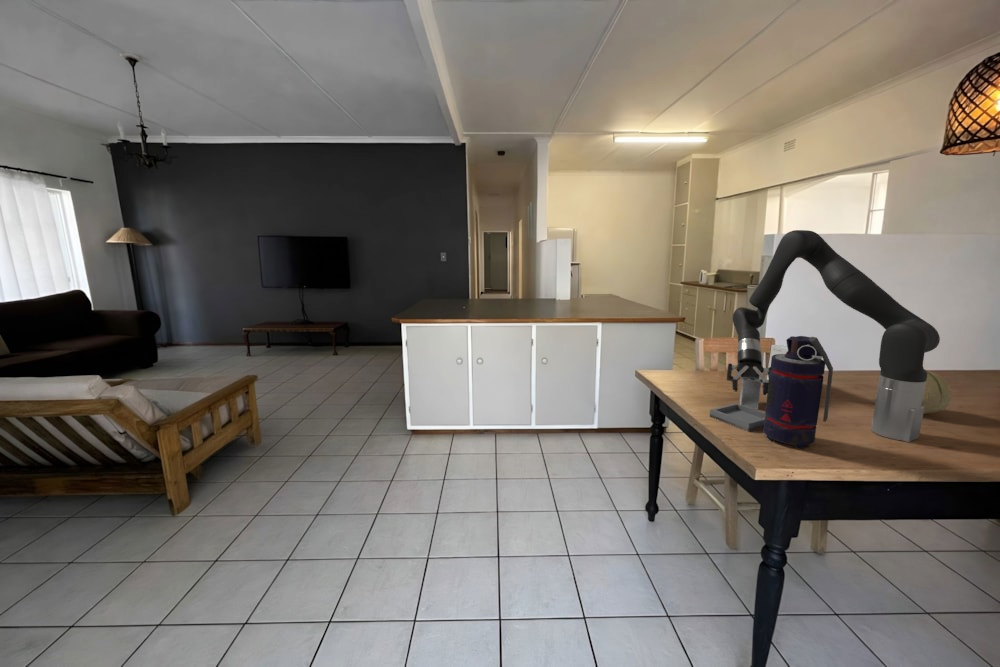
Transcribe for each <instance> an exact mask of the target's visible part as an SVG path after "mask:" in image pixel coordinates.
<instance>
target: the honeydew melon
mask: <svg viewBox="0 0 1000 667" xmlns="http://www.w3.org/2000/svg"><path fill="white" fill-rule="evenodd" d="M926 371H927V380H926V385H925V390H924V395H923V400H922V405H921V406H924V413H923V415H925V414H931V413H932V414H933V413H937V412H941V411H943V410H945V409H946V408H947V407H948V406H949V405H950V403H951V401H952V398H953V392H952V389H951V386H950V385H949V383H948V381H947V380H946V379H944V378H943V377H942V376H941V375H940V374H937V373H935V372H933V371H929V370H926Z"/></svg>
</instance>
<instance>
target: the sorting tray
mask: <svg viewBox="0 0 1000 667" xmlns="http://www.w3.org/2000/svg"><path fill="white" fill-rule="evenodd" d="M765 416H766V415H765V412H764V411H761V410H759V409H758V410H757V409H753V408H750V407H747V406H744V405H741V404H740V403H737V402H735V403H731V404H727V405H722V406H718V407H714V408H711V409H709V418H712V417H713V418H712V419H715V418H716V419H715V420H717V419H718V421H720V422H722V421H723V422H722V423H725V424H728V425H730V424H731V425H730V426H733V425H734V426H733V427H735V426H736V428H738V427H739V428H738V429H740V428H741V430H743V429H744V431H746V430H747V431H746V432H752V431H755V430H759V429H762V428H764V421H765ZM761 427H762V428H761ZM758 428H759V429H758ZM754 429H755V430H754ZM751 430H752V431H751Z"/></svg>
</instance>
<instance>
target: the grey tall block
mask: <svg viewBox="0 0 1000 667" xmlns="http://www.w3.org/2000/svg"><path fill="white" fill-rule="evenodd" d="M761 385H762V383H761V381H760V379H759V378H755V377H745V376H742V378H741V382H740V391H739V392H740V393H739V403H738V404H741V405H744V406H747V407H750V408H753V409H756V410H757V409H758V410H759V402H760V393H761Z"/></svg>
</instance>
